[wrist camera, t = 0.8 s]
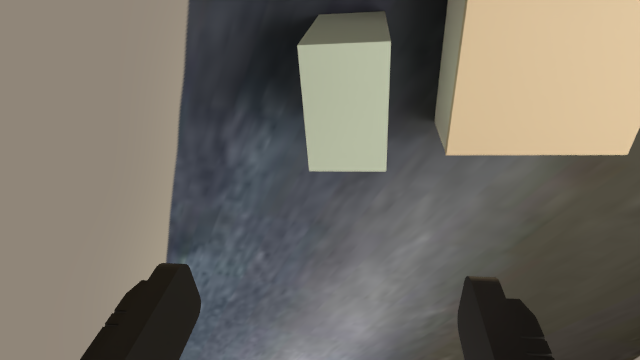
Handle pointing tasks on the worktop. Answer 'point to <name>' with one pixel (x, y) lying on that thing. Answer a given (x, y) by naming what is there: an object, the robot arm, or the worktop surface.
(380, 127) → the sage carton
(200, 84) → the worktop surface
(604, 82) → the podium
